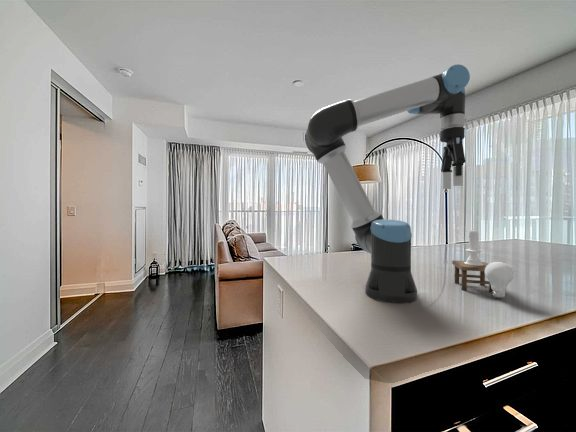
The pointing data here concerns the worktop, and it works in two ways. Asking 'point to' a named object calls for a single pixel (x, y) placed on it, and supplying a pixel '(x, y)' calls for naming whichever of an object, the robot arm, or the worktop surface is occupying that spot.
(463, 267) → the small wooden table
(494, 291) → the light bulb
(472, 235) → the candle
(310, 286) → the worktop surface
